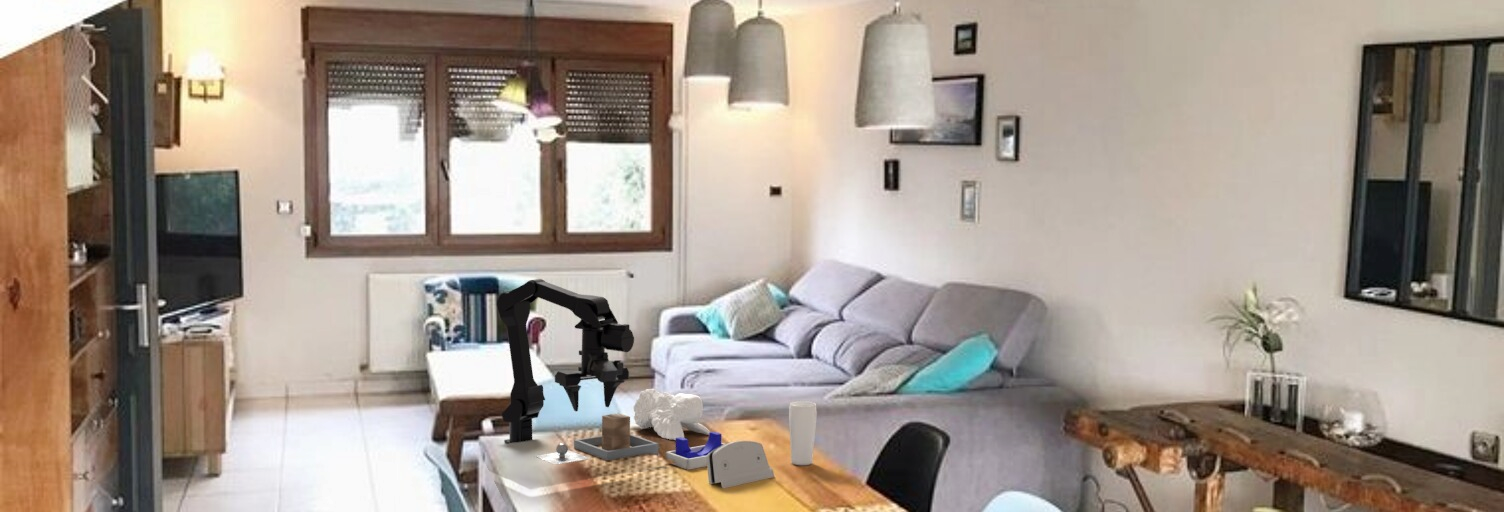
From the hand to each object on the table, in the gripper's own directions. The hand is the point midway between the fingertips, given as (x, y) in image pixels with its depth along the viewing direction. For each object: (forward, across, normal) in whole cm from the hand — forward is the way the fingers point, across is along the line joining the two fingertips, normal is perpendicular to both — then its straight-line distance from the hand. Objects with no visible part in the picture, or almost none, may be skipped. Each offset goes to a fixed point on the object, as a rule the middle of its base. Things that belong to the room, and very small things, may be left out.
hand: (591, 409), depth 323 cm
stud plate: (+12, -11, -4) cm, 16 cm away
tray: (+11, +4, -5) cm, 13 cm away
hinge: (+11, +15, -40) cm, 44 cm away
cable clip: (+11, +19, -20) cm, 30 cm away
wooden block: (+10, +4, -5) cm, 12 cm away
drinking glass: (+11, +37, -38) cm, 54 cm away
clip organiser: (+11, +19, -22) cm, 31 cm away
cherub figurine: (+12, +31, +7) cm, 34 cm away
